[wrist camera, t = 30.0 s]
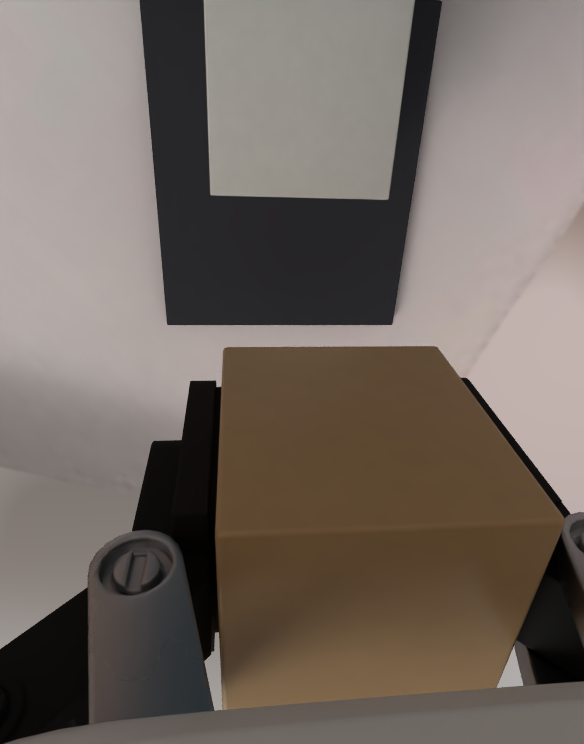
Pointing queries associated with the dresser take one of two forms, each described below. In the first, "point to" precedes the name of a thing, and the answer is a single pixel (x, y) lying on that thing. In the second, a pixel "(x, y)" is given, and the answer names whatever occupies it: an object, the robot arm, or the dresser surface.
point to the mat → (269, 202)
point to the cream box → (304, 96)
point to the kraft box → (367, 528)
